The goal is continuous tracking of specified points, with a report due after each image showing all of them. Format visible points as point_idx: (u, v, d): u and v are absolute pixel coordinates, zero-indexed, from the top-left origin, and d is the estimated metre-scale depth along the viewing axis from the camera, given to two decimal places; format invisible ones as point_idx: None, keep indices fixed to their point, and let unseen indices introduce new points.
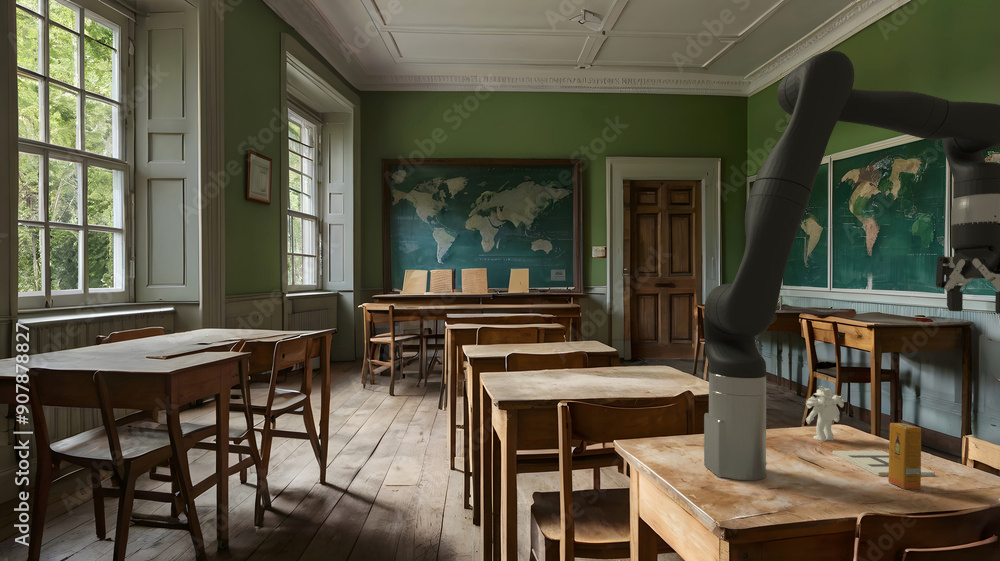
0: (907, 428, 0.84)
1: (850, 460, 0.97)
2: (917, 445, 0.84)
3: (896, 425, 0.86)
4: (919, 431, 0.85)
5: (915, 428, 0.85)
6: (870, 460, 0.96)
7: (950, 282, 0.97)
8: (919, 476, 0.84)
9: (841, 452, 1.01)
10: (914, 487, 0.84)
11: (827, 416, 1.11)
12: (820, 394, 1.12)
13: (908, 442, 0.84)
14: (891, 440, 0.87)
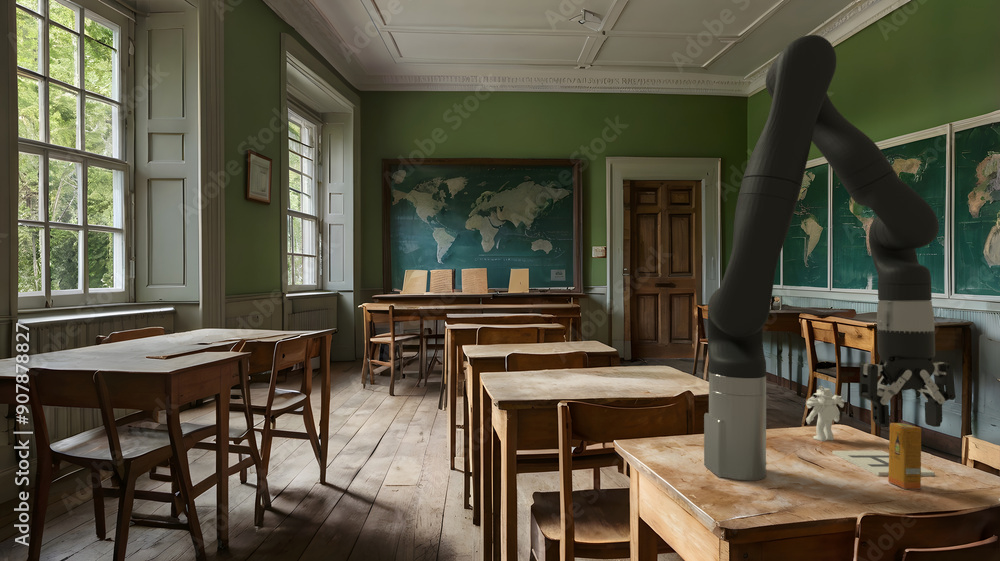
0: (907, 428, 0.84)
1: (850, 460, 0.97)
2: (917, 445, 0.84)
3: (896, 425, 0.86)
4: (919, 431, 0.85)
5: (915, 428, 0.85)
6: (870, 460, 0.96)
7: (887, 395, 0.84)
8: (919, 476, 0.84)
9: (841, 452, 1.01)
10: (914, 487, 0.84)
11: (827, 416, 1.11)
12: (820, 394, 1.12)
13: (908, 442, 0.84)
14: (891, 440, 0.87)
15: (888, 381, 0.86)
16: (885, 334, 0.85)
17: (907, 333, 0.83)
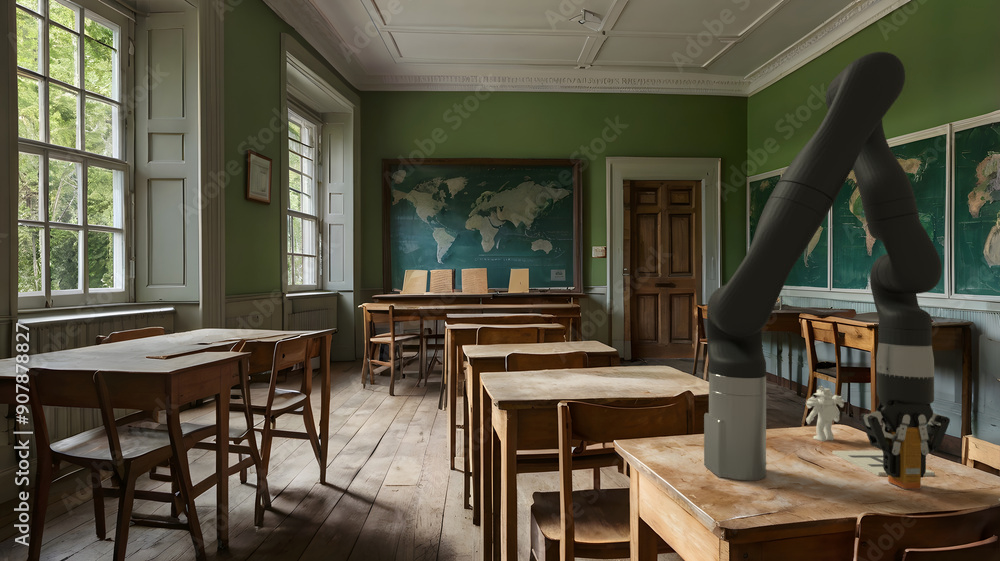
0: (907, 428, 0.84)
1: (850, 460, 0.97)
2: (917, 445, 0.84)
3: None
4: None
5: (915, 428, 0.85)
6: (870, 460, 0.96)
7: (896, 444, 0.85)
8: (919, 475, 0.84)
9: (841, 452, 1.01)
10: (914, 487, 0.84)
11: (827, 416, 1.11)
12: (820, 394, 1.12)
13: (908, 442, 0.84)
14: None
15: None
16: (884, 378, 0.85)
17: (907, 378, 0.83)
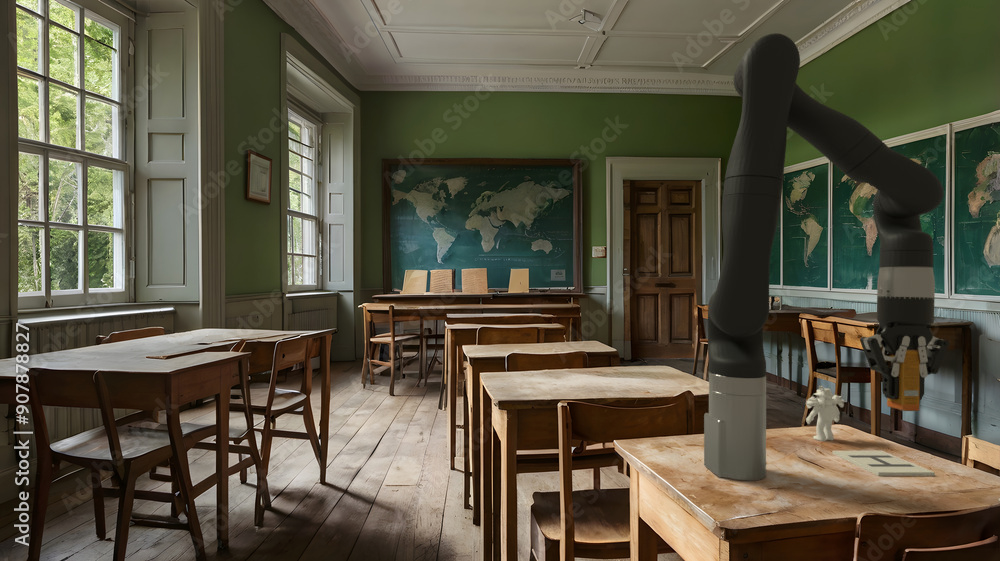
0: None
1: (850, 460, 0.97)
2: (915, 367, 0.85)
3: None
4: (917, 353, 0.85)
5: (913, 350, 0.85)
6: (870, 460, 0.96)
7: (895, 366, 0.85)
8: (917, 398, 0.85)
9: (841, 452, 1.01)
10: (913, 409, 0.84)
11: (827, 416, 1.11)
12: (820, 394, 1.12)
13: (906, 364, 0.84)
14: None
15: None
16: (885, 300, 0.86)
17: (907, 299, 0.83)
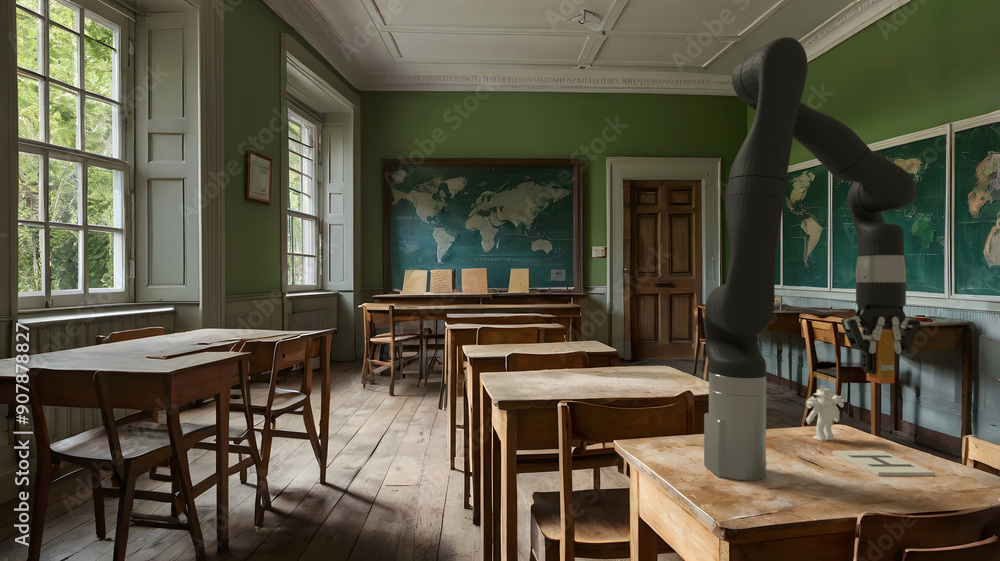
0: None
1: (850, 460, 0.97)
2: (890, 344, 0.95)
3: None
4: None
5: (888, 329, 0.95)
6: (870, 460, 0.96)
7: (872, 344, 0.95)
8: (893, 371, 0.95)
9: (841, 452, 1.01)
10: (888, 381, 0.95)
11: (827, 416, 1.11)
12: (820, 394, 1.12)
13: (882, 342, 0.95)
14: None
15: None
16: (862, 285, 0.96)
17: (881, 283, 0.94)
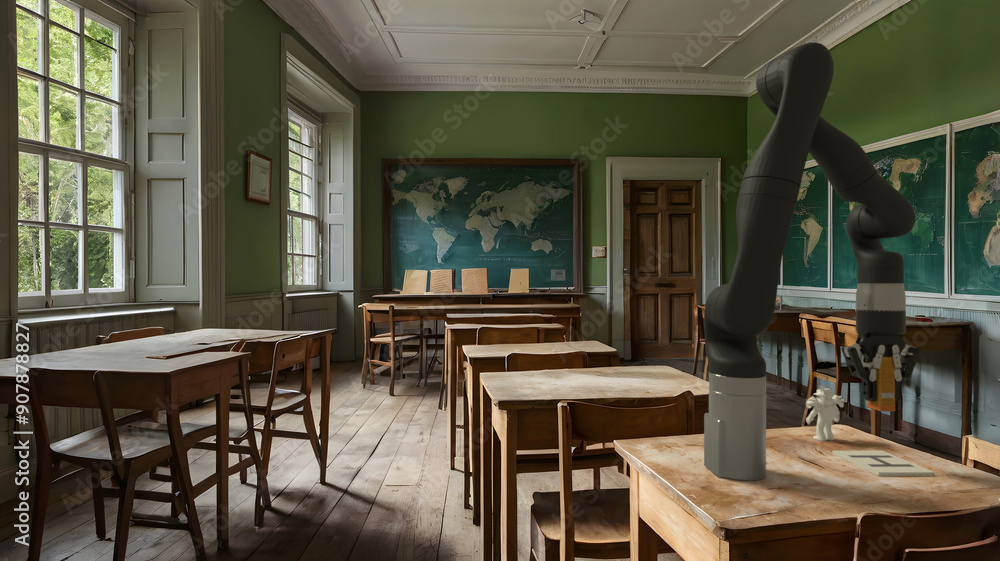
0: None
1: (850, 460, 0.97)
2: (891, 372, 0.95)
3: None
4: None
5: (888, 357, 0.95)
6: (870, 460, 0.96)
7: (872, 372, 0.95)
8: (893, 399, 0.95)
9: (841, 452, 1.01)
10: (889, 409, 0.95)
11: (827, 416, 1.11)
12: (820, 394, 1.12)
13: (883, 370, 0.95)
14: None
15: None
16: (862, 313, 0.96)
17: (881, 312, 0.94)
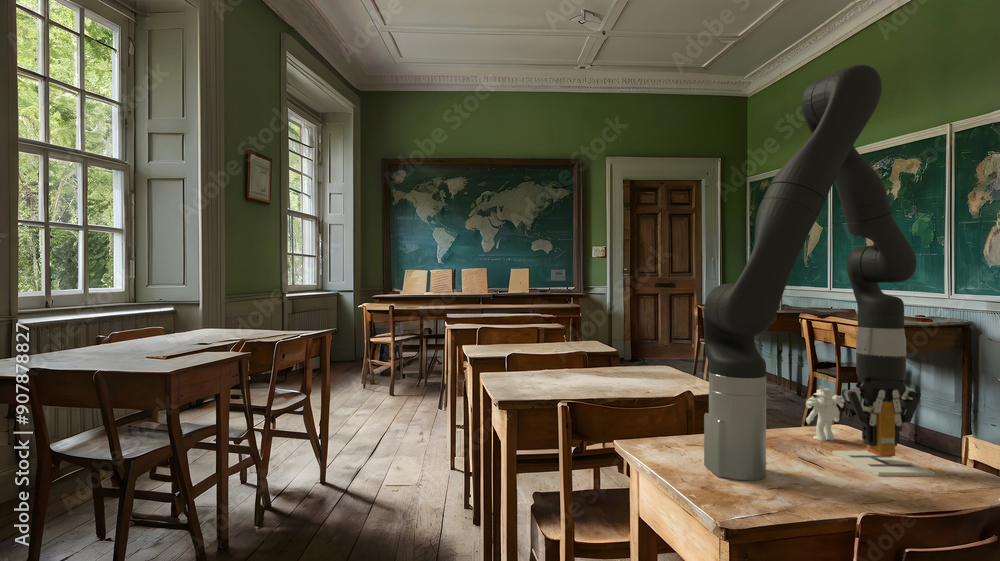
0: None
1: (850, 460, 0.97)
2: (891, 417, 0.95)
3: None
4: (892, 405, 0.95)
5: (889, 402, 0.95)
6: (870, 460, 0.96)
7: (873, 417, 0.95)
8: (893, 444, 0.95)
9: (841, 452, 1.01)
10: (889, 454, 0.95)
11: (827, 416, 1.11)
12: (820, 394, 1.12)
13: (883, 415, 0.95)
14: None
15: None
16: (862, 357, 0.96)
17: (881, 357, 0.93)
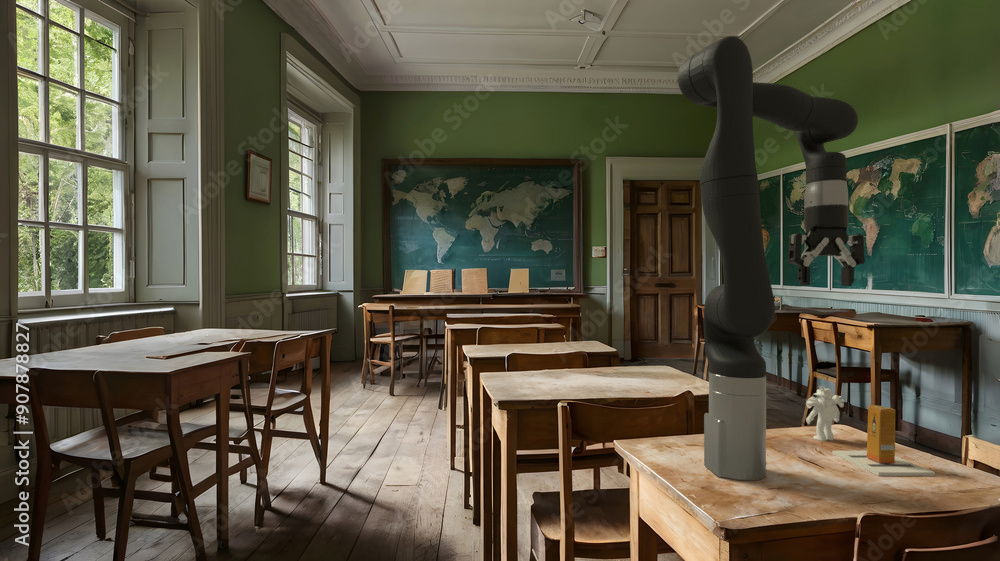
0: (882, 409, 0.95)
1: (850, 460, 0.97)
2: (891, 424, 0.95)
3: (873, 407, 0.97)
4: (893, 412, 0.95)
5: (889, 409, 0.95)
6: (870, 460, 0.96)
7: (809, 258, 1.03)
8: (893, 451, 0.95)
9: (841, 452, 1.01)
10: (888, 461, 0.95)
11: (827, 416, 1.11)
12: (820, 394, 1.12)
13: (883, 422, 0.95)
14: (869, 420, 0.97)
15: (811, 249, 1.05)
16: (809, 210, 1.04)
17: (825, 206, 1.02)
